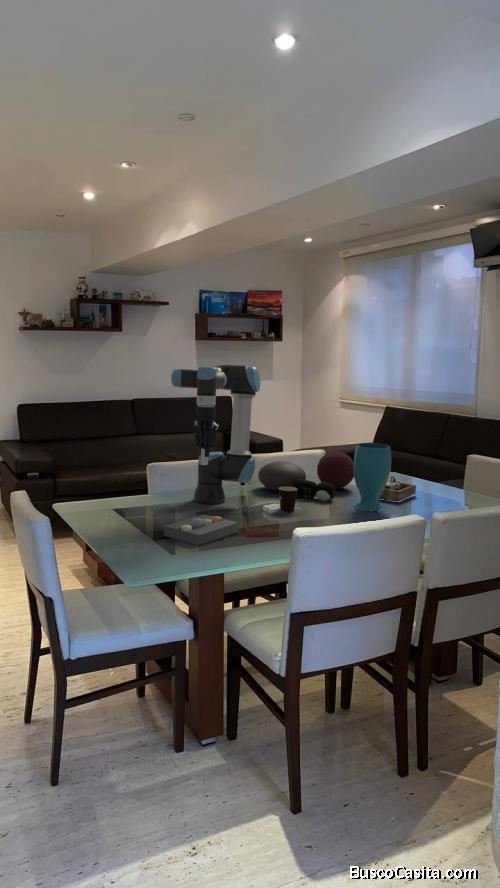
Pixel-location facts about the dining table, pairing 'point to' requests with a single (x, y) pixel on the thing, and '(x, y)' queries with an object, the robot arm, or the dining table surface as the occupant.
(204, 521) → the button sage
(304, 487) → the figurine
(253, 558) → the dining table surface
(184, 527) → the button ivory
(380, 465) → the vase
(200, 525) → the button slate
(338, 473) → the decorative sphere
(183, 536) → the console
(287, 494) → the coffee mug
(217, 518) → the button terracotta
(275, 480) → the smooth stone
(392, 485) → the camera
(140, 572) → the dining table surface
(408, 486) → the camera caddy
